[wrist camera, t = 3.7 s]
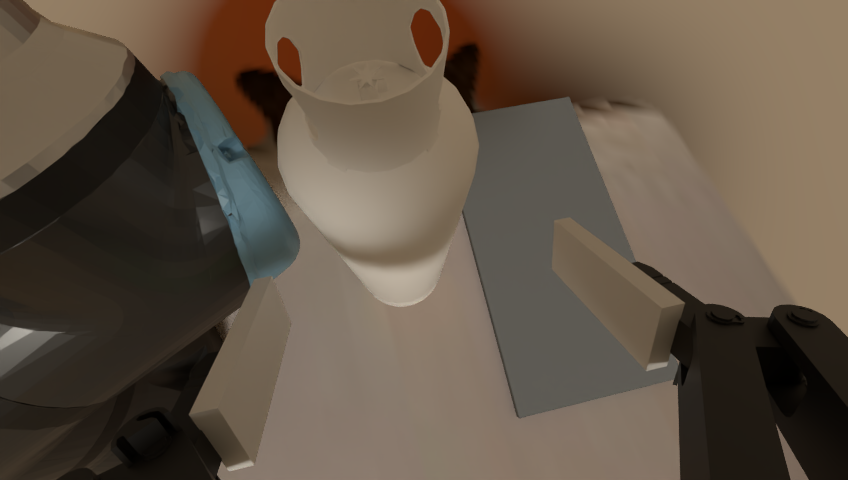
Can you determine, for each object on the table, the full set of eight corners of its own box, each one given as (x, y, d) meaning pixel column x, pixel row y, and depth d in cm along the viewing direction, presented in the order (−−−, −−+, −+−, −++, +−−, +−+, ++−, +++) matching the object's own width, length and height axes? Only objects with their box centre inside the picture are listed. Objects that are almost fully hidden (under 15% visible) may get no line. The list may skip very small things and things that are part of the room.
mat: (676, 376, 33) (682, 377, 32) (516, 416, 32) (519, 418, 31) (566, 101, 42) (569, 96, 41) (438, 123, 41) (438, 119, 40)
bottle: (450, 293, 35) (564, 120, 8) (372, 316, 34) (216, 208, 7) (427, 221, 37) (457, -100, 10) (353, 241, 36) (181, -52, 10)
